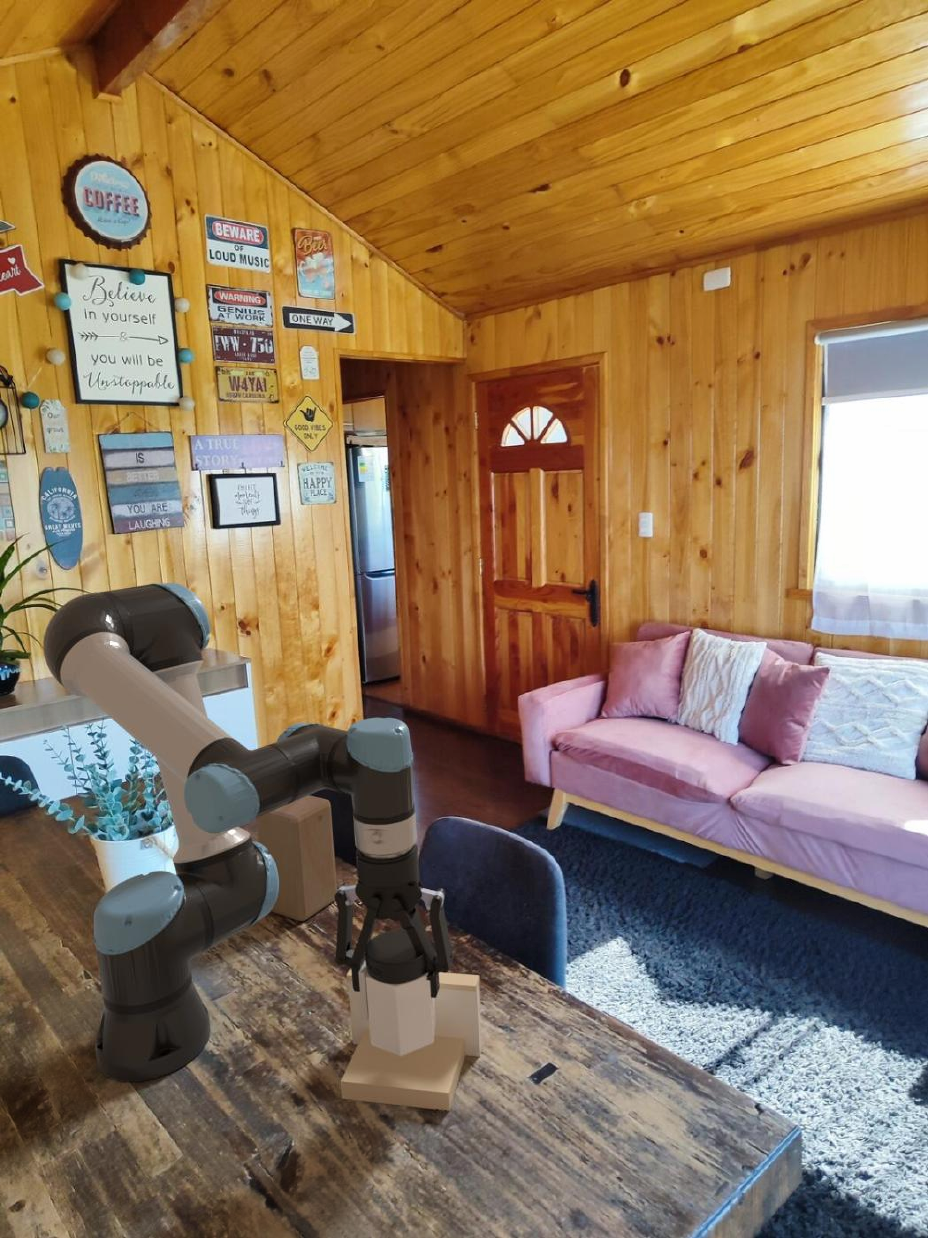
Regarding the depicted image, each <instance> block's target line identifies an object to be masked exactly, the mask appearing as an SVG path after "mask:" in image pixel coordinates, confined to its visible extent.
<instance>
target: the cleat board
mask: <svg viewBox="0 0 928 1238" xmlns="http://www.w3.org/2000/svg"><path fill="white" fill-rule="evenodd" d="M349 968H350V967H349ZM347 981H348V983H347V984H348V996H349V1009H350V1010H349V1011H350V1024H351V1037H352V1045H357V1046H356V1048H355V1051H354V1053H353V1054H352V1057H351V1058H350V1061H349V1063H348V1065H347V1067H346V1069H345V1071H344V1074H343V1076H342V1078H341V1080H340V1088H341V1099H344V1100H352V1101H357V1102H358V1101H360V1102H368V1103H376V1104H385V1105H394V1106H401V1107H410V1106H411V1108H421V1109H429V1110H436V1109H439V1111H444V1110H447V1111H446V1112H450V1111H451V1107H452V1105H451V1104H453V1101H454V1097H455V1093H456V1090H457V1086H458V1083H459V1080H460V1076H461V1073H462V1070H463V1069H462V1068H463V1065H464V1062H465V1058H466V1056H468V1057H477V1058H478V1057H479V1058H480V1057H481V1055H482V1051H483V1048H482V1047H483V1046H482V1045H483V1042H482V1022H481V1020H482V1019H481V1000H480V999H481V997H480V975H479V974H478V975H477V974H467V973H454V972H447V973H443V972H439V984H440V988H439V991H438V994H437V996H436V998H434V1005H435V1030H434V1042H433V1043H432V1044H430V1045H427V1046H425V1047H423V1048H420V1049H418V1050H415V1051H413V1052H410V1053H408V1054H406V1055H403V1056H398V1055H395V1054H393V1053H390V1052H387V1051H385V1050H382V1049H380V1048H377V1047H375V1046H372V1045H371V1040H370V1027H369V1018H368V1020H363V1019H362V1013H361V1000H360V992H355V991H354V989H353V985H352V984H353V983H352V972H351V968H350V969H349V970H348V972H347V974H346V982H347ZM441 1109H442V1110H441Z"/></svg>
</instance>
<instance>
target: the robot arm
mask: <svg viewBox="0 0 928 1238" xmlns="http://www.w3.org/2000/svg"><path fill="white" fill-rule="evenodd" d="M210 622H211V621H210V618H209V615H208V612H207V610H206V608H205V606H204V604H203V603H202V601H201V599H200V598H199V597H198V596H197V594H196V593H195V592H193V591H192V590H189V588H188V587H187V586H185V585H183V584H180V583H175V582H167V583H165V582H164V583H155V582H154V583H153V582H152V583H151V584H150V583H149V584H142V585H138V586H137V585H136V586H132V587H126V588H119V589H113V590H106V591H99V592H91V593H86V594H82V595H79V596H77V597H74V598H72V599H70V600H68V601H67V602H66V603H65V604H63V605H62V606H60V607H59V609H58V610H56V612H55V613H54V614H53V616H52V617H51V618H50V620H49V622H48V624H47V626H46V628H45V633H44V636H43V642H42V644H43V646H42V648H43V649H42V650H43V656H44V660H45V663H46V666H47V668H48V670H49V672H50V673H51V675H52V677H54V679H55V680H56V681H57V682H58V684H60V685H61V686H62V687H63V688H64V689H66V691H68V692H69V693H70V694H72V695H74V696H77V697H82V698H83V697H84V698H85V697H86V698H88V699H89V700H90V701H91V702H92V703H93V704H94V705H96V706H97V708H99V709H100V710H101V711H103V712H104V713H105V714H106V715H107V716H108V717H109V718H111V719H112V720H113V721H114V722H115V723H116V724H118V725H119V726H120V727H121V728H122V729H123V730H124V731H125V732H126V733H128V734H129V735H130V736H131V737H132V738H133V739H134V740H135V741H137V742H138V743H139V744H140V745H141V746H143V748H145V749H146V750H147V751H148V752H149V753H150V754H151V755H152V756H153V757H155V758H156V762H157V766H158V770H159V773H160V778H161V781H162V784H163V788H164V793H165V796H166V798H167V803H168V806H169V810H170V813H171V817H172V821H173V825H174V828H175V832H176V836H177V839H178V843H179V846H178V848H177V851H176V852H175V854H174V856H173V858H172V862H173V865H174V866H173V867H174V870H175V873H174V872H172V871H171V872H170V871H163V870H158V871H150V872H148V874H143V873H141V874H138V875H134V876H132V877H129V878H127V879H125V880H123V881H121V882H119V883H117V885H115V886H114V887H112V888H111V889H110V890H108V891H107V892H106V893H105V894H104V895H103V896H102V898H100V900H99V902H98V903H97V905H96V908H95V909H94V913H93V914H94V915H93V944H94V946H95V950H96V956H97V964H98V972H99V979H100V986H101V993H102V999H103V1008H102V1012H101V1018H100V1022H99V1026H98V1029H97V1034H96V1040H95V1048H94V1050H95V1058H96V1064H97V1067H98V1069H99V1071H100V1072H101V1073H102V1074H104V1076H106V1077H108V1078H109V1079H113V1080H115V1081H121V1082H142V1081H148V1080H153V1079H157V1078H160V1077H163V1076H166V1075H168V1074H170V1073H172V1072H174V1071H177V1070H179V1069H180V1068H182V1067H184V1066H185V1065H187V1064H188V1063H190V1062H191V1061H192V1060H194V1059H195V1058H196V1057H197V1056H198V1055H199V1054H200V1053H201V1052H202V1051H203V1050H204V1048H205V1047H206V1045H207V1043H208V1042H209V1039H210V1036H211V1031H212V1029H211V1020H210V1014H209V1011H208V1009H207V1007H206V1006H205V1004H204V1002H203V1001H202V999H201V997H200V994H199V992H198V990H197V988H196V986H195V983H194V982H193V977H192V967H191V966H192V965H191V961H192V960H193V959H194V958H195V957H197V956H199V955H201V954H202V953H204V952H206V951H208V950H210V949H211V948H214V947H216V945H220V943H223V942H224V941H226V940H227V939H229V938H231V937H233V936H234V935H237V934H239V933H240V932H242V931H246V930H248V929H249V928H251V927H253V926H254V925H255V924H256V923H257V922H258V921H261V920H262V919H263V918H265V917H266V916H267V915H269V914H270V913H271V912H272V911H271V910H272V908H273V906H274V904H275V902H276V900H277V897H278V892H279V877H278V871H277V867H276V864H275V861H274V859H273V857H272V855H268V850H267V849H266V847H265V846H264V845H262V844H260V843H259V841H254V840H253V838H252V836H251V833H250V832H249V831H247V830H245V829H243V828H241V826H246V825H247V824H249V823H252V821H254V820H257V819H256V818H258V817H260V816H263V815H265V814H267V813H269V812H271V811H273V810H276V809H278V808H280V807H282V806H285V805H287V804H290V803H292V802H294V801H297V800H299V799H301V798H304V797H306V796H308V795H309V796H311V795H312V794H315V793H317V792H318V791H322V790H329V791H333V792H337V793H341V794H344V795H350V796H351V804H352V816H353V818H352V819H353V831H354V842H355V847H356V848H357V849H356V850H355V851H356V852H355V858H356V861H355V862H356V873H357V878H358V879H357V883H356V884H354V885H350V884H349V883H346V882H344V883H342V884H341V885H340V886H339V888H337V892H336V894H335V896H334V897H335V900H334V901H335V904H336V907H337V911H338V912H337V929H336V943H335V944H336V945H335V946H336V947H335V963H336V964H337V965H339V966H344V965H345V966H348V967H349V968H351V972H352V983H353V984H352V985H353V989H354V991H355V992H360V1000H361V1013H362V1019H363V1020H368V1018H369V1014H368V1001H367V988H366V974H367V967H366V962H365V960H364V959H365V950H366V947H367V945H368V943H369V942H370V941H371V940H372V938H373V934H374V931H375V928H376V925H377V923H378V921H379V920H381V921H383V920H384V921H385V920H392V921H396V922H400V925H401V927H402V929H405V930H406V932H407V934H408V936H409V938H410V940H411V942H412V945H413V947H414V949H415V951H416V952H417V953H425V954H426V961H427V973H428V975H427V976H426V977H427V978H426V980H431V996H432V998H436V996H437V994H438V991H439V988H440V984H439V972H443V973H449V970H450V968H451V965H452V963H453V959H454V955H453V950H452V945H451V940H450V934H449V930H448V929H449V928H448V925H447V919H446V914H445V909H444V902H445V898H446V891H445V889H444V888H437V889H436V890H431V889H427V888H424V885H423V883H422V882H421V879H420V869H419V868H420V867H419V852H418V846H417V841H418V834H417V833H418V832H417V831H418V830H417V818H416V807H415V805H416V804H415V796H414V795H415V794H414V764H413V763H414V753H413V751H412V742H411V734H410V729H409V727H408V725H407V724H406V723H405V722H403V721H402V720H400V719H397V718H392V717H383V718H382V717H372V718H371V717H370V718H364V719H361V720H358V721H355V722H354V723H353V724H351V725H350V726H349V727H348V730H345V729H340V728H337V727H336V728H335V727H330V726H328V725H324V724H321V723H316V722H311V723H309V722H296V723H294V724H293V723H292V724H291V725H289V726H288V727H286V729H285V730H284V731H283V732H282V733H281V734H280V735H279V736H278V738H277V740H276V741H275V742H273V743H270V744H267V745H263V746H262V747H258V748H254V749H252V750H251V749H248V748H247V747H245V746H244V745H243V744H242V743H241V742H240V741H238V740H236V739H234V737H232V736H231V735H230V734H228V732H226V731H225V730H224V729H222V727H220V726H219V725H217V724H216V723H215V722H214V721H213V720H211V718H209V717H208V714H207V713H208V712H207V711H206V707H205V703H204V700H203V699H204V698H203V696H202V692H201V688H200V684H199V681H198V677H197V675H198V673H199V671H200V669H201V667H202V665H203V664H204V660H203V656H202V652H203V651H204V650H205V649H206V648H207V646H208V644H209V642H210V639H211V637H210V634H211V629H212V628H211V624H210ZM357 898H358V899H359V900H360V902H361V903H362V904H363V906H364V907H365V908H366V909H367V910H366V914H365V916H364V919H363V924H362V927H361V930H360V932H359V936H358V939H357V941H356V942H357V943H356V946H355V948H354V950H352V941H353V926H354V925H353V923H354V921H353V920H354V907H355V906H354V905H355V904H354V903H355V901H356V900H357ZM420 900H422V901H423V902H424V904H425V905H424V906H425V908H426V910H427V911H429V923H430V927H431V932H432V937H433V943H434V946H433V943H432V941H431V940H430V937H429V935H428V933H427V931H426V928H425V927H424V924H423V922H422V919H421V917H420V912H419V909H418V906H417V904H418V903H419V902H420ZM429 947H430V950H429V952H428V949H429Z"/></svg>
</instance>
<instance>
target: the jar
mask: <svg viewBox="0 0 928 1238" xmlns="http://www.w3.org/2000/svg"><path fill="white" fill-rule="evenodd" d="M429 950H430V947H429V949H428V952H429ZM364 959H365V960H364V961H365V962H366V967H367V974H366V988H367V1001H368V1014H369V1027H370V1040H371V1045H372V1046H375V1047H377V1048H380V1049H382V1050H385V1051H387V1052H390V1053H393V1054H395V1055H398V1056H403V1055H406V1054H408V1053H410V1052H413V1051H415V1050H418V1049H420V1048H423V1047H425V1046H427V1045H430V1044H432V1043H433V1042H434V1030H435V1005H434V998H432V996H431V980H426V978H427V977H426V976H427V975H428V973H427V961H426V954H425V953H417V952H416V951H415V949H414V947H413V945H412V942H411V940H410V938H409V936H408V934H407V932H406V930H405V929H403V928H402V929H401V928H400V929H393V930H388V931H385V932H381V933H380V934H378V935H376V936H375V937H372V938H371V940H370V942H369V943H368V945H367V947H366V950H365V958H364Z"/></svg>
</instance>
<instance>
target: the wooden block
mask: <svg viewBox="0 0 928 1238" xmlns="http://www.w3.org/2000/svg"><path fill="white" fill-rule="evenodd" d="M255 820H256V826H257V837H258V843H260V844H262V845H264V846H265V847H266V849H267V850H268V855H272V857H273V859H274V861H275V864H276V867H277V871H278V877H279V892H278V897H277V900H276V902H275V904H274V906H273V908H272V910H271V911H270V912H272V913H275V914H278V915H281V916H283V917H287V918H289V919H293V920H296V921H298V922H304V921H306V920H308V919H309V918H311V917H312V916H314V915H316V914H317V913H319V912H320V911H321V910H322V909H324V908H326V907H328V905H329V904H331V903H333V902H334V901H335V897H334V896H335V894H336V892H337V891H338V885H337V873H336V858H335V846H334V845H335V844H334V833H333V832H334V831H333V818H332V805H331V802H330V801H329V799H325V798H323V797H317V796H313V795H308V796H306V797H304V798H301V799H299V800H297V801H294V802H292V803H290V804H287V805H285V806H282V807H280V808H278V809H276V810H273V811H271V812H269V813H267V814H265V815H263V816H260V817H258V818H256V819H255Z"/></svg>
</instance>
